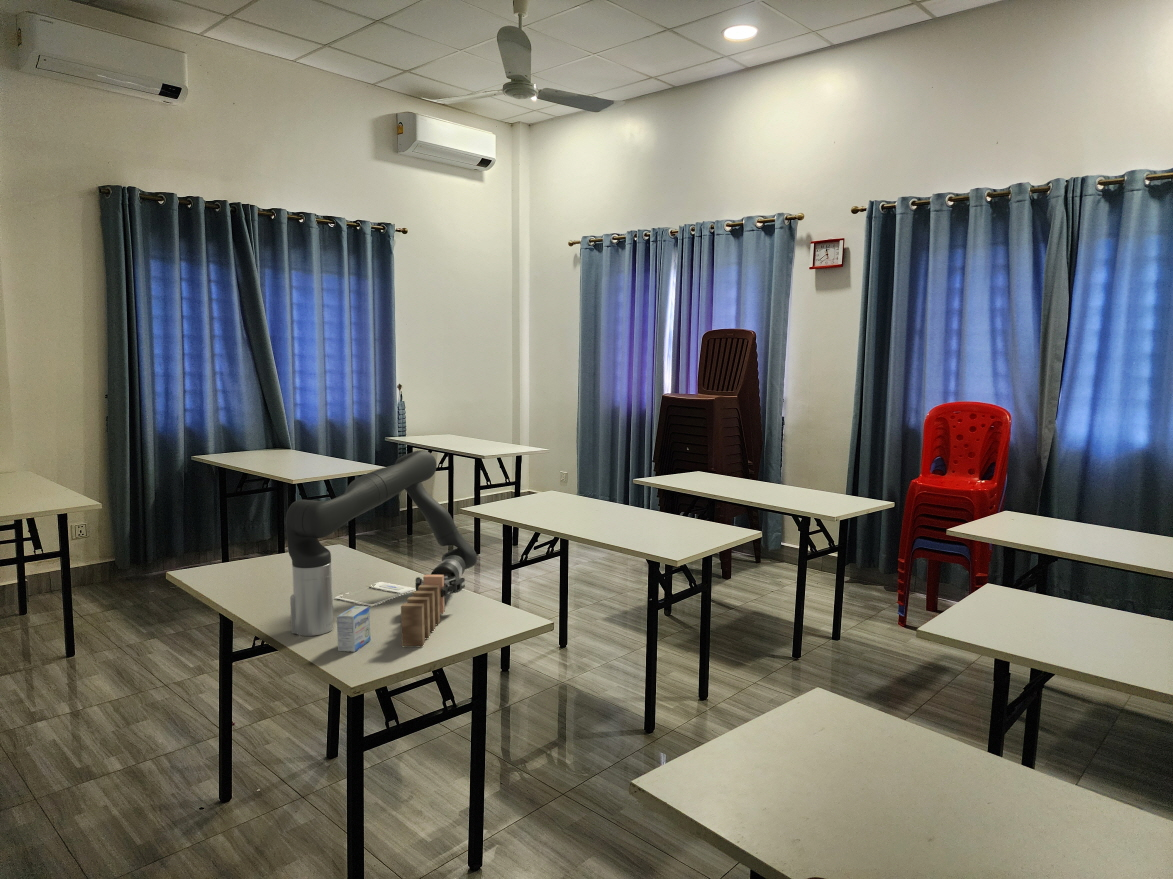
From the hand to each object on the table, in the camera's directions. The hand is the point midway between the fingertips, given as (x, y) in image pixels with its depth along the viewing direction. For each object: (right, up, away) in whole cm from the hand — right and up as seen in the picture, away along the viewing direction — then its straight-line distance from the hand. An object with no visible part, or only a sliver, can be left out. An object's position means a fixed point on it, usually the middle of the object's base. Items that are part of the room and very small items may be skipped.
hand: (431, 593), depth 195 cm
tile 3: (0, -8, -7) cm, 10 cm away
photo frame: (-21, -6, +23) cm, 32 cm away
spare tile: (0, -6, +3) cm, 7 cm away
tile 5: (-1, -9, -17) cm, 19 cm away
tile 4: (-1, -9, -12) cm, 14 cm away
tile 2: (0, -8, -2) cm, 8 cm away
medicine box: (-15, -9, -17) cm, 24 cm away
